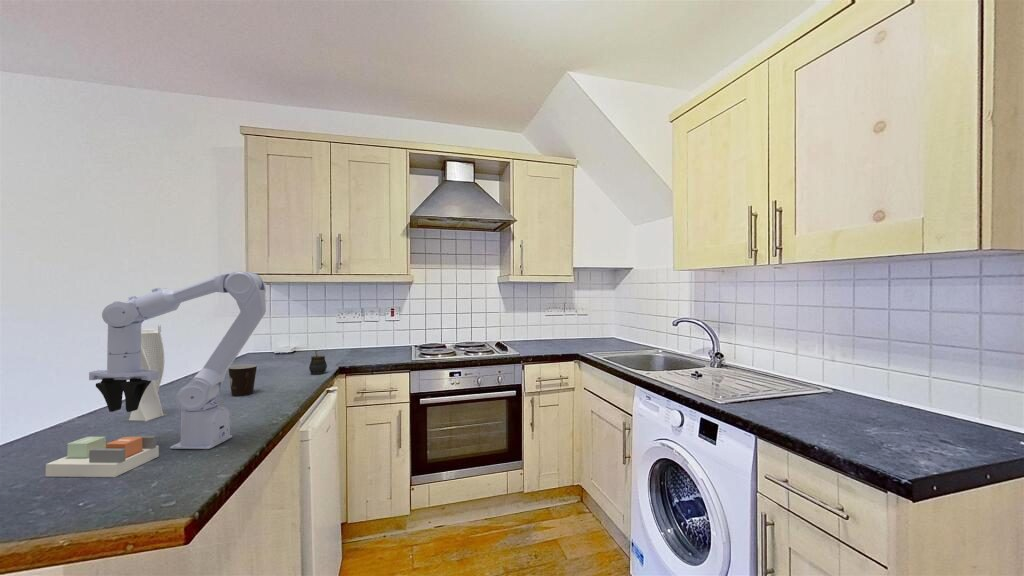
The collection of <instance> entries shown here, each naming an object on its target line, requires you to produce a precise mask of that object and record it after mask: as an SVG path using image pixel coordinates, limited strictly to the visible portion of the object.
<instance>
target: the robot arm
mask: <svg viewBox="0 0 1024 576" xmlns="http://www.w3.org/2000/svg"><path fill="white" fill-rule="evenodd" d="M266 290H267V287H266V285H265V282H264V281H263V279H262V277H261V276H260V275H259V274H257V273H255V272H252V271H251V272H250V271H243V270H236V271H232V272H231V273H224V274H219V275H216V276H215V275H214V276H212V277H209V278H207V279H204V280H201V281H198V282H195V283H193V284H190V285H187V286H184V287H182V288H179V289H175V290H172V289H169V288H160V287H155V288H152V289H151V292H150V293H149V292H148V293H145V294H142V295H139V296H135V295H133V296H129V297H128V301H121V300H119V301H117V300H116V301H113V302H112V303H110V304H108V305H106V306H105V307H104V309H103V310H102V312H101V318H102V320H103V322H104V323H106V324H107V344H106V345H107V347H106V348H107V351H106V352H107V354H106V356H107V359H106V370H104V369H102V370H99V369H98V370H94V371H93V370H92V371H89V372H88V380H89V381H96V380H98V381H99V380H100V382H97V383H95V388H96V389H97V390H98V391H99V392H100V393H101V395H102V396H103V398H104V401H105V403H106V406H107V408H108V411H109V412H110V413H113V412H116V411H120V410H121V409H122V404H123V394H124V399H125V411H126V413H131V411H135V410H137V409H138V406H139V403H140V400H141V398H142V395H143V393H144V391H145V390H146V388H147V387H148V385H149V384H150V383H151V381H152V380H156V379H159V371H151V370H143V368H141V332H142V324H143V322H144V321H148V320H151V319H153V318H156V317H159V316H162V315H165V314H166V315H167V314H168V313H171V312H174V311H176V310H178V308H179V307H180V305H181V304H182V303H184V302H187V301H190V300H194V299H198V298H201V297H205V296H208V295H210V294H215V293H220V294H221V293H223V294H225V293H228V294H229V295H230V296H231V297H232V298H233V299H234V300H235V302H236V304H237V306H238V309H239V311H240V312H239V314H238V315H237V317H236V319H235V320H234V321H233V322H232V324H231V326H230V327H229V329H228V330H227V331H226V333H225V334H224V336H223V338H222V339H221V341H220V342H219V343H218V345H217V347H216V348H215V349H214V351H213V352H212V354H211V355H210V357H209V358H208V359H207V361H206V363H205V364H204V365H203V367H202V368H201V370H199V371H198V372H197V373H196V375H195V376H194V377H193V378H192V380H191V381H190V382H189V383H188V384H186V385H184V386H183V387H182V388H180V390H179V391H178V392H177V394H176V402H177V404H178V406H179V407H180V441H179V442H178V443H176V444H173V445H171V446H170V449H173V450H175V449H176V450H177V449H178V450H180V449H181V450H182V449H183V450H209V449H210V450H211V449H212V448H214V447H216V446H218V445H220V444H222V443H224V442H226V441H227V440H230V439H231V438H233V435H231V412H230V409H228V407H223V406H220V405H219V401H218V399H217V397H218V396H219V395H220V393H221V391H222V384H223V381H224V380H225V379H226V375H227V374H226V373H227V372H228V371H229V367H231V366H232V364H233V363H234V361H235V360H236V358H237V357H238V355H239V353H240V352H241V351H242V349H243V348H244V347H245V345H246V343H247V342H248V340H249V339H250V337H251V336H252V334H253V333H254V332H255V330H256V328H257V327H258V325H259V324H260V322H261V320H262V319H263V317H264V316H265V314H266V311H267V309H266V308H267V307H266V306H267V305H266V303H267V301H266Z"/></svg>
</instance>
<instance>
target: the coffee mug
mask: <svg viewBox="0 0 1024 576" xmlns="http://www.w3.org/2000/svg"><path fill="white" fill-rule="evenodd" d="M257 366H258V365H257V364H237V365H231V366H230V367H229V369H228V376H229V382H230V391H231V392H230V393H231V397H246V396H249V395H253V393H254V387H255V380H256V373H257V368H258V367H257Z"/></svg>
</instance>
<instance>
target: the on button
mask: <svg viewBox="0 0 1024 576" xmlns="http://www.w3.org/2000/svg"><path fill="white" fill-rule="evenodd" d="M106 444H107V436H85V437H83V438H80V439H76V440H74V441H71V442H68V443H67V451H66V453H67V455H66V456H67V459H87V458H89V450H91V449H94V448H106Z"/></svg>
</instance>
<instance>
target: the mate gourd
mask: <svg viewBox="0 0 1024 576" xmlns="http://www.w3.org/2000/svg"><path fill="white" fill-rule="evenodd" d="M314 352H315V355H312V356H311V357H310V358H311V359H310V363H309V366H308V369H309V372H310V374H311V375H315V376H316V375H323V374H324V373H325V372H326V370H327V368H328V364H327V362H326V356H325V355H323V354H322V355H318V352H317V350H316V351H314Z"/></svg>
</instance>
